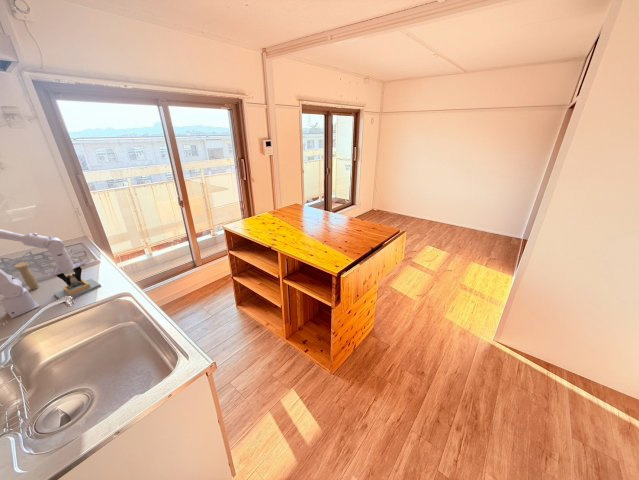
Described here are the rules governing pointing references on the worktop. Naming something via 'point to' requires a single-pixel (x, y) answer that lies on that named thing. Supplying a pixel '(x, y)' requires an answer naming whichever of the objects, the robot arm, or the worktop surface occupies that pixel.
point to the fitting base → (78, 289)
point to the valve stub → (73, 280)
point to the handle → (27, 275)
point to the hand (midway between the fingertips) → (74, 282)
